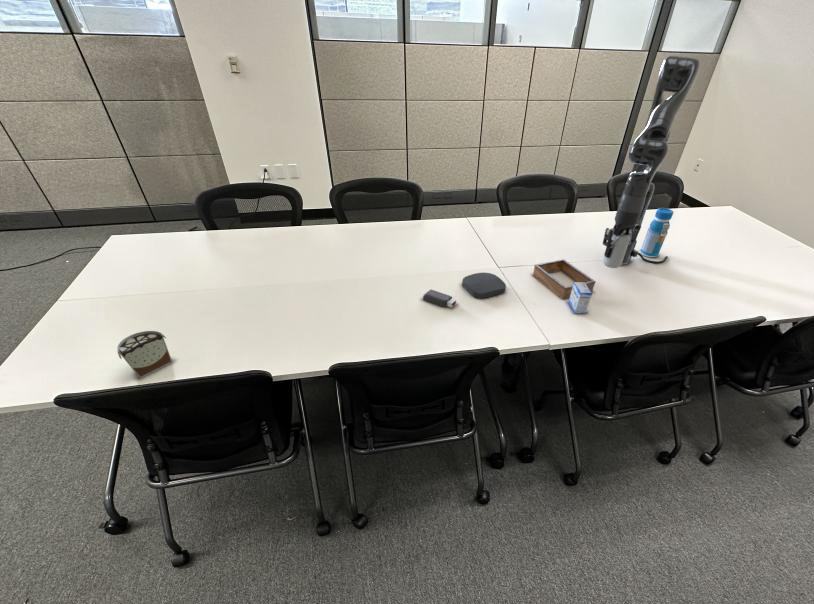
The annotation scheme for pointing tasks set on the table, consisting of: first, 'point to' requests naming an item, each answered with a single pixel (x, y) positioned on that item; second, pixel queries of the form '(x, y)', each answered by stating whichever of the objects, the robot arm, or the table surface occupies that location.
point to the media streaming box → (483, 285)
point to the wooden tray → (556, 286)
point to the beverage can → (617, 252)
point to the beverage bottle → (656, 233)
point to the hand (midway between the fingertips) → (614, 255)
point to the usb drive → (439, 298)
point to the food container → (144, 352)
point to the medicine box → (580, 297)
